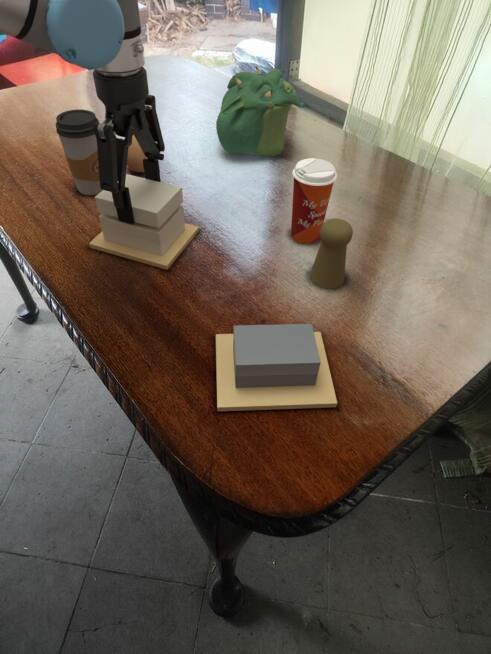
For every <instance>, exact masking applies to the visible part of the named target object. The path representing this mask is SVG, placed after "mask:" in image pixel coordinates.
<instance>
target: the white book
mask: <svg viewBox="0 0 491 654" xmlns="http://www.w3.org/2000/svg"><path fill="white" fill-rule="evenodd" d="M125 187H128V188H129V192H130V198H131V204H132V210H133V216H134V221H135V222H137V223H141V224H144V225H148V226H152V227H156V228H160V227H161V225H162V224H163V223H164V222H165V221H166V220H167V219H168V218H169V217H170V216H171V215H172V213H173V212H174V211H175V210H176V209H177V208H178V207H179V206H182V205H183V203H184V197H183V187H182V186H178V185H174V184H170V183H164V182H162V181H161V182H158V181H153V180H149V179H145V177H140V176H137V175H132V174H128V173H126V181H125ZM94 200H95V205H96V209H97V212H98V213H99V214H107V215H111V216H114V217H118V215H117V210H116V207H115V206H114V202H113V197H112V192H109V191H105V190H103V191H101V192H100V193H99V194H98V195H94Z"/></svg>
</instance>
